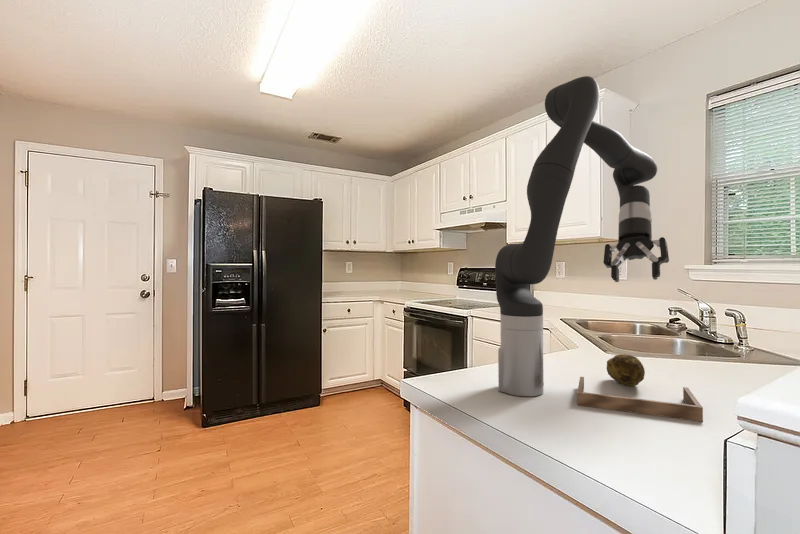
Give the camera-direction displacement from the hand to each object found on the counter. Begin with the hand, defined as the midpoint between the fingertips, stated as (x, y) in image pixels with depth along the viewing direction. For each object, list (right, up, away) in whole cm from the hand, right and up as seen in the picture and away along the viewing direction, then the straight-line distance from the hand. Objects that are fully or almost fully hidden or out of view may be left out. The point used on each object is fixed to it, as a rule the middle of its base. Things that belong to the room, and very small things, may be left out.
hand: (635, 279), depth 101 cm
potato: (-6, -25, -7) cm, 26 cm away
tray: (-11, -25, -18) cm, 32 cm away
